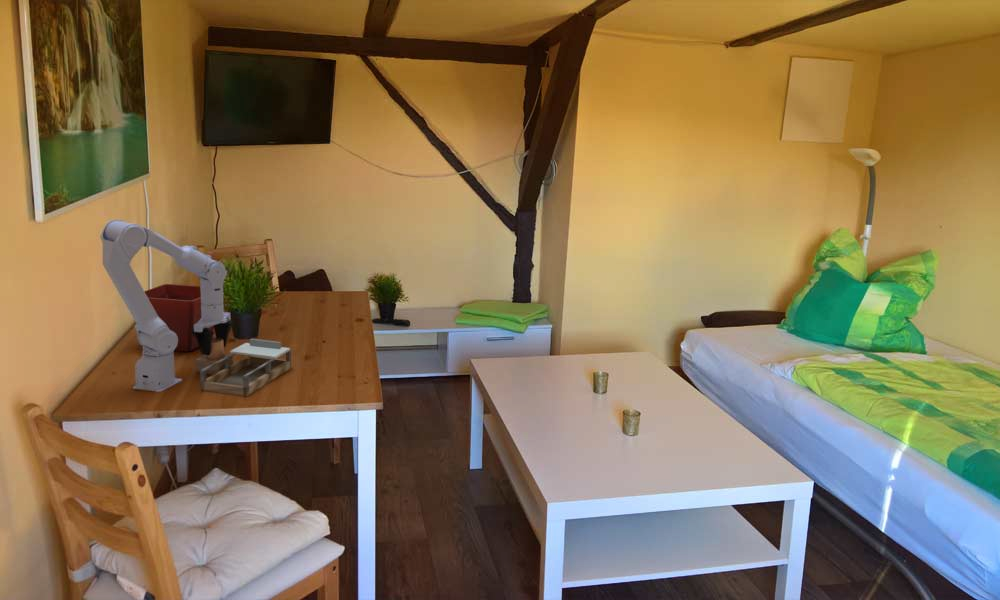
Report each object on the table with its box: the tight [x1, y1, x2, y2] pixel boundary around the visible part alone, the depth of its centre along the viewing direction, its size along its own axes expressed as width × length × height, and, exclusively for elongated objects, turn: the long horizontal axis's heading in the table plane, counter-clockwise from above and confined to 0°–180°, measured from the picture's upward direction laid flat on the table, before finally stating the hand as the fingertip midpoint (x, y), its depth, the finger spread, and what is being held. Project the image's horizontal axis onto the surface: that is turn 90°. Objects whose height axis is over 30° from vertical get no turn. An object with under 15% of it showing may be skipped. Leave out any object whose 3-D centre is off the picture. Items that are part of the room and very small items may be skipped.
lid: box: [229, 338, 291, 359], centre depth 204 cm, size 8×14×2 cm, turn 79°
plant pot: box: [144, 283, 214, 352], centre depth 224 cm, size 19×19×17 cm
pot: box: [207, 338, 225, 360], centre depth 203 cm, size 4×4×5 cm
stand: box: [194, 353, 234, 375], centre depth 204 cm, size 7×7×4 cm
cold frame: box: [199, 350, 292, 397], centre depth 199 cm, size 24×13×6 cm, turn 169°
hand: (213, 350), depth 203 cm, fingers open, 7 cm apart
